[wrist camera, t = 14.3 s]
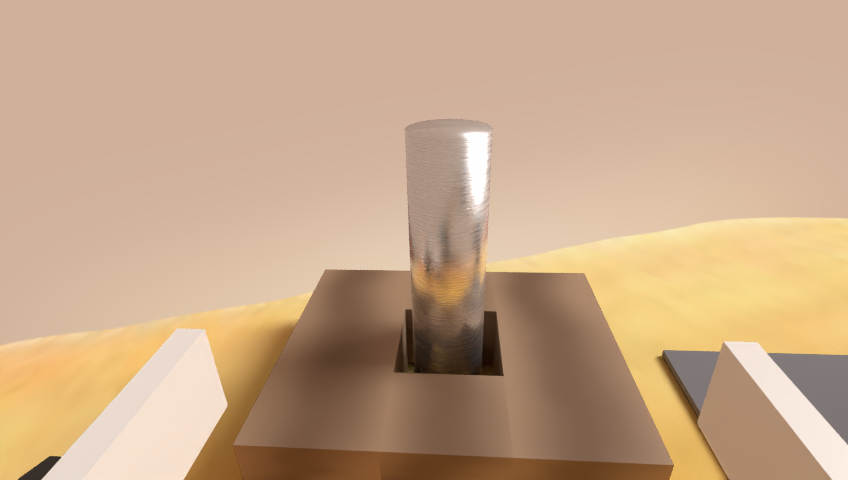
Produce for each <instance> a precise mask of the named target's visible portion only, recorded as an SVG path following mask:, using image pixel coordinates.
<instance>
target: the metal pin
mask: <svg viewBox="0 0 848 480" xmlns="http://www.w3.org/2000/svg"><path fill="white" fill-rule="evenodd" d="M405 142H406V143H405V144H406V167H407V194H408V216H409V217H408V219H409V243H410V270H411V295H412V320H413V345H414V370H415V373H422V374H453V375H481V368H482V346H483V324H484V302H485V280H486V258H487V236H488V214H489V192H490V170H491V148H492V127H491V126H490V125H488V124H486V123H483V122H479V121H472V120H462V119H438V120H428V121H422V122H417V123H414V124H411V125H409V126H407V127H406V128H405Z"/></svg>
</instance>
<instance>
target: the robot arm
mask: <svg viewBox="0 0 848 480" xmlns="http://www.w3.org/2000/svg"><path fill="white" fill-rule="evenodd" d="M227 406H228V404H227V401H226V398H225V395H224V391H223V388H222V385H221V381H220V378H219V375H218V371H217V368H216V365H215V361H214V358H213V355H212V351H211V348H210V345H209V342H208V338H207V335H206V332H205V329H177V330H176V331H175V332H174V333H173V334H172V335H171V336H170V337H169V338H168V340H167V341H166V342H165V343H164V344H163V345H162V346H161V347H160V348H159V350H158V351H157V352H156V353H155V354H154V355H153V356H152V357H151V358H150V360H149V361H148V362H147V363H146V364H145V365H144V366H143V367H142V368H141V370H140V371H139V372H138V373H137V374H136V375H135V376H134V377H133V378H132V380H131V381H130V382H129V383H128V384H127V385H126V386H125V387H124V388H123V390H122V391H121V392H120V393H119V394H118V395H117V396H116V397H115V399H114V400H113V401H112V402H111V403H110V404H109V405H108V406H107V407H106V409H105V410H104V411H103V412H102V413H101V414H100V415H99V416H98V417H97V419H96V420H95V421H94V422H93V423H92V424H91V425H90V426H89V427H88V429H87V430H86V431H85V432H84V433H83V434H82V435H81V436H80V437H79V439H78V440H77V441H76V442H75V443H74V444H73V445H72V446H71V447H70V449H69V450H68V451H67V452H66V453H65V454H64V455H63V456H62V457H57V456H49V457H48V458H47V459H45V460H44V461H42V462H41V463H40V464H38V465H37V466H36V467H34V468H33V469H31V470H30V471H29V472H27V473H26V474H24V475H23V476H22V477H20V478H19V479H18V480H184V478H185V476H186V475H187V473H188V471H189V470H190V468H191V466H192V465H193V463H194V461H195V460H196V458H197V456H198V454H199V453H200V451H201V449H202V448H203V446H204V444H205V443H206V441H207V439H208V438H209V436H210V434H211V433H212V431H213V429H214V428H215V426H216V424H217V423H218V421H219V419H220V418H221V416H222V414H223V413H224V411H225V409H226V408H227ZM697 424H698V426H699V428H700V429H701V431H702V433H703V435H704V436H705V438H706V440H707V442H708V444H709V445H710V447H711V449H712V451H713V452H714V454H715V456H716V458H717V459H718V461H719V463H720V465H721V467H722V468H723V470H724V472H725V474H726V475H727V477H728V479H729V480H848V445H847V444H846V442H845V441H844V440H843V439H842V438H841V437H840V436H839V434H838V433H837V432H836V431H835V430H834V429H833V428H832V427H831V425H830V424H829V423H828V422H827V421H826V420H825V419H824V417H823V416H822V415H821V414H820V413H819V412H818V411H817V410H816V408H815V407H814V406H813V405H812V404H811V403H810V402H809V401H808V399H807V398H806V397H805V396H804V395H803V394H802V393H801V391H800V390H799V389H798V388H797V387H796V386H795V385H794V384H793V382H792V381H791V380H790V379H789V378H788V377H787V376H786V374H785V373H784V372H783V371H782V370H781V369H780V368H779V367H778V365H777V364H776V363H775V362H774V361H773V360H772V359H771V358H770V356H769V355H768V354H767V353H766V352H765V351H764V350H763V348H762V347H761V346H760V345H759V344H758V343H757V342H728V341H723V345H722V348H721V351H720V354H719V357H718V360H717V363H716V366H715V369H714V372H713V375H712V378H711V381H710V385H709V388H708V391H707V394H706V397H705V400H704V403H703V406H702V409H701V412H700V415H699V418H698V421H697Z"/></svg>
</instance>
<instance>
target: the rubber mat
mask: <svg viewBox="0 0 848 480" xmlns="http://www.w3.org/2000/svg"><path fill="white" fill-rule="evenodd" d="M719 354H720V352H709V351H672V350H663V354H662V356H663V358H664V359H665V361H666V363H667V365H668V366H669V368H670V370H671V371H672V373H673V375H674V377H675V378H676V380H677V382H678V383H679V385H680V387H681V389H682V390H683V392H684V394H685V395H686V397H687V399H688V401H689V402H690V404H691V406H692V407H693V409H694V411H695V413H696V414H697V416H698V418H699V415H700V412H701V409H702V406H703V403H704V400H705V397H706V394H707V391H708V388H709V385H710V381H711V378H712V375H713V372H714V369H715V366H716V363H717V360H718V357H719ZM767 354H768V355H769V356H770V358H771V359H772V360H773V361H774V362H775V363H776V364H777V365H778V367H779V368H780V369H781V370H782V371H783V372H784V373H785V374H786V376H787V377H788V378H789V379H790V380H791V381H792V382H793V384H794V385H795V386H796V387H797V388H798V389H799V390H800V391H801V393H802V394H803V395H804V396H805V397H806V398H807V399H808V401H809V402H810V403H811V404H812V405H813V406H814V407H815V408H816V410H817V411H818V412H819V413H820V414H821V415H822V416H823V417H824V419H825V420H826V421H827V422H828V423H829V424H830V425H831V427H832V428H833V429H834V430H835V431H836V432H837V433H838V434H839V436H840V437H841V438H842V439H843V440H844V441H845V442H846V444H847V445H848V355H820V354H783V353H767Z"/></svg>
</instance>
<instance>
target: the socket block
mask: <svg viewBox="0 0 848 480" xmlns="http://www.w3.org/2000/svg"><path fill="white" fill-rule="evenodd" d="M408 363H414V345H413V320H412V295H411V271H381V270H379V271H378V270H325V271H324V273H323V275H322V277H321V279H320V281H319V283H318V285H317V287H316V289H315V290H314V292H313V294H312V296H311V298H310V300H309V302H308V303H307V305H306V307H305V309H304V311H303V313H302V315H301V317H300V319H299V320H298V322H297V324H296V326H295V328H294V330H293V332H292V334H291V336H290V337H289V339H288V341H287V343H286V345H285V347H284V349H283V351H282V353H281V354H280V356H279V358H278V360H277V362H276V364H275V366H274V368H273V370H272V371H271V373H270V375H269V377H268V379H267V381H266V383H265V385H264V387H263V388H262V390H261V392H260V394H259V396H258V398H257V400H256V402H255V404H254V406H253V407H252V409H251V411H250V413H249V415H248V417H247V419H246V421H245V423H244V424H243V426H242V428H241V430H240V432H239V434H238V436H237V438H236V440H235V441H234V443H233V448H234V451H235V455H236V458H237V461H238V465H239V468H240V471H241V475H242V478H243V480H669V479H670V476H671V473H672V470H673V466H674V464H673V462H672V460H671V458H670V456H669V454H668V452H667V449H666V447H665V445H664V443H663V441H662V439H661V437H660V434H659V432H658V430H657V428H656V426H655V424H654V422H653V419H652V417H651V415H650V413H649V411H648V409H647V407H646V405H645V402H644V400H643V398H642V396H641V394H640V392H639V390H638V387H637V385H636V383H635V381H634V379H633V377H632V375H631V372H630V370H629V368H628V366H627V364H626V362H625V360H624V358H623V355H622V353H621V351H620V349H619V347H618V345H617V343H616V340H615V338H614V336H613V334H612V332H611V330H610V328H609V325H608V323H607V321H606V319H605V317H604V315H603V313H602V311H601V308H600V306H599V304H598V302H597V300H596V298H595V296H594V293H593V291H592V289H591V287H590V285H589V283H588V281H587V278H586V276H585V274H584V273H518V272H486V280H485V302H484V324H483V346H482V365H483V366H493V367H494V376H485V375H453V374H422V373H407V368H408Z"/></svg>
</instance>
